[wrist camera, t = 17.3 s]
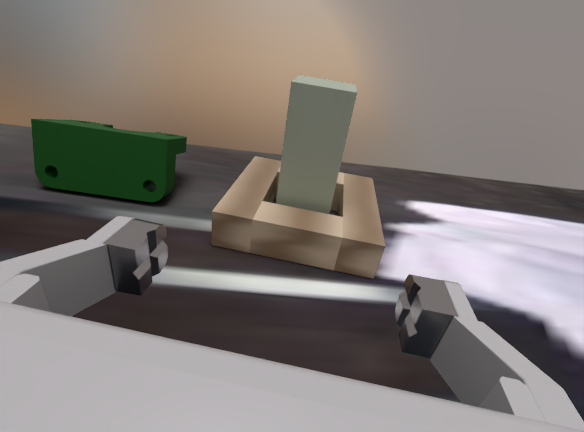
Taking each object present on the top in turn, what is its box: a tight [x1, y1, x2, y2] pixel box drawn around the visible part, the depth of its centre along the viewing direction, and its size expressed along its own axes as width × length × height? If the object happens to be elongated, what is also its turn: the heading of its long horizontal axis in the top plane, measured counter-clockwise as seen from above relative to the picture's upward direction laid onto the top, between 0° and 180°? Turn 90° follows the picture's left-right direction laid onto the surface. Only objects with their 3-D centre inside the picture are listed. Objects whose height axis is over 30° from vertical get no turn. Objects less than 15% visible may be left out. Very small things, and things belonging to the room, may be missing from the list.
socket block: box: [212, 156, 385, 279], centre depth 29 cm, size 12×12×3 cm
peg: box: [276, 75, 357, 214], centre depth 26 cm, size 4×4×12 cm
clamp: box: [31, 119, 187, 202], centre depth 30 cm, size 12×6×9 cm, turn 81°
